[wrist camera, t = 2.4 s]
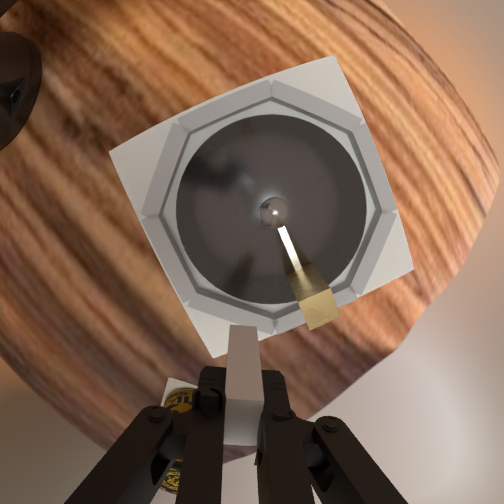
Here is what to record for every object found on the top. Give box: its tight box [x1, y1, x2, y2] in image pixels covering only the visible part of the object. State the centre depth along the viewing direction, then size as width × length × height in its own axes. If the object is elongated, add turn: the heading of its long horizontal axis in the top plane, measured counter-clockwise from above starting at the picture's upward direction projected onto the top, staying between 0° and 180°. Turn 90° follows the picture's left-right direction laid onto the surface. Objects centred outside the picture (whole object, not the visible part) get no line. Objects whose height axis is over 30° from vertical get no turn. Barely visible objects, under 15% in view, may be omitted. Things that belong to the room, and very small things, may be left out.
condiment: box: [159, 378, 198, 494], centre depth 29 cm, size 7×8×12 cm
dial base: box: [109, 55, 414, 358], centre depth 27 cm, size 22×22×4 cm
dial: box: [176, 114, 367, 330], centre depth 23 cm, size 16×16×7 cm
